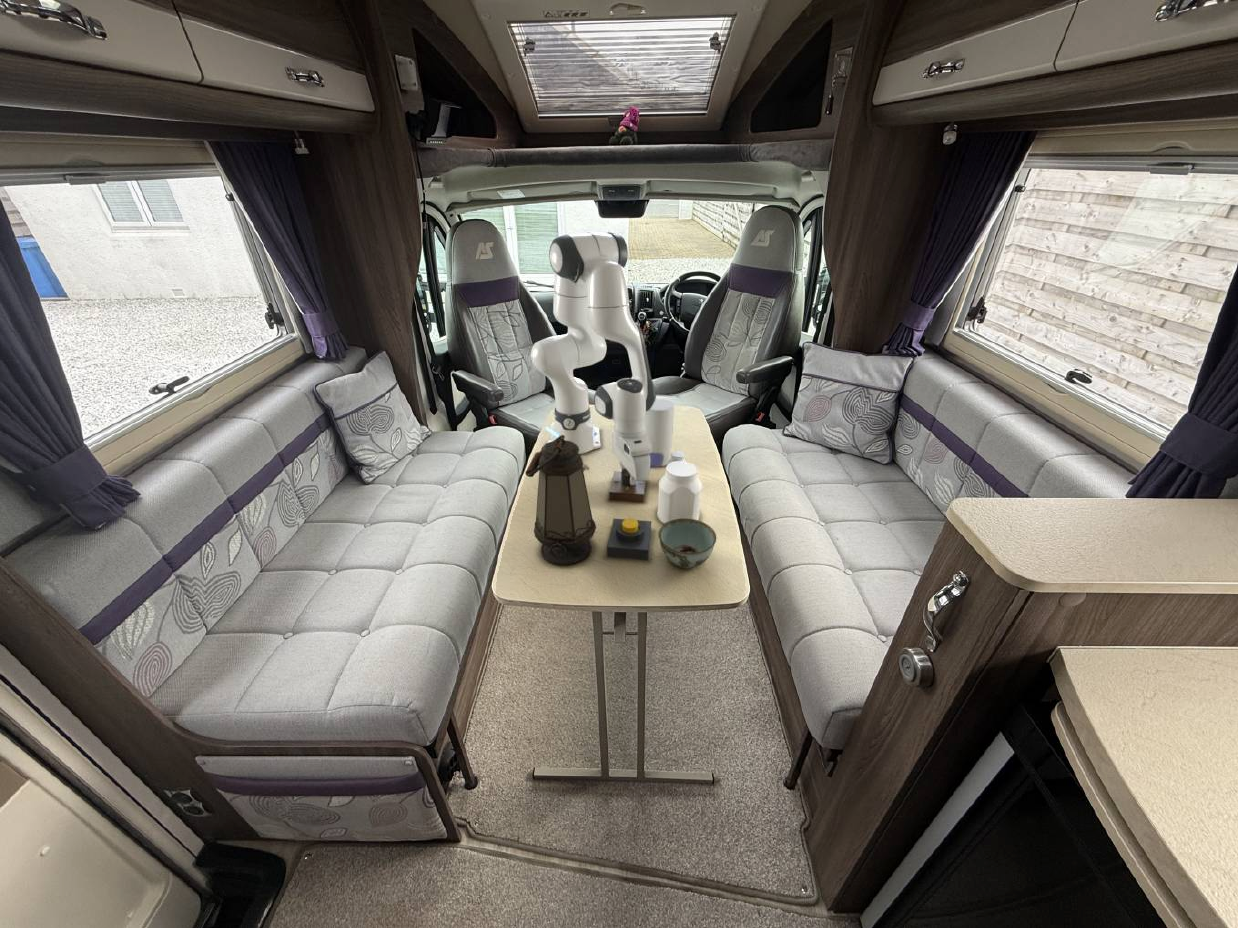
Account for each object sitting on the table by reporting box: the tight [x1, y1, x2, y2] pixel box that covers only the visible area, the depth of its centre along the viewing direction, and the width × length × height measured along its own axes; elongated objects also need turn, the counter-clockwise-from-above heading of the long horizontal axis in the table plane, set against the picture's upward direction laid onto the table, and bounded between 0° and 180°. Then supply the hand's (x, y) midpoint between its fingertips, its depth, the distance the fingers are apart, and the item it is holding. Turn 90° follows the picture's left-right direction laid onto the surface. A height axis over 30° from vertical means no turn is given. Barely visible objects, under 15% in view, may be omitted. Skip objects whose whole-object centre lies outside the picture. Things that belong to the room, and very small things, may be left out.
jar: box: [656, 460, 703, 524], centre depth 134 cm, size 12×10×15 cm
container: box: [644, 398, 675, 468], centre depth 161 cm, size 10×10×20 cm
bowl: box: [658, 518, 717, 570], centre depth 119 cm, size 14×13×8 cm
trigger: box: [622, 518, 638, 533], centre depth 124 cm, size 4×4×2 cm
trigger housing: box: [606, 518, 652, 561], centre depth 126 cm, size 12×10×5 cm
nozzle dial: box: [620, 469, 632, 486], centre depth 147 cm, size 4×4×4 cm
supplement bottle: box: [667, 450, 687, 465], centre depth 151 cm, size 5×5×10 cm
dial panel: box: [608, 470, 648, 504], centre depth 148 cm, size 12×10×3 cm
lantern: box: [524, 435, 597, 567], centre depth 118 cm, size 18×15×30 cm
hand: (628, 479), depth 147 cm, fingers closed on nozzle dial, 4 cm apart
